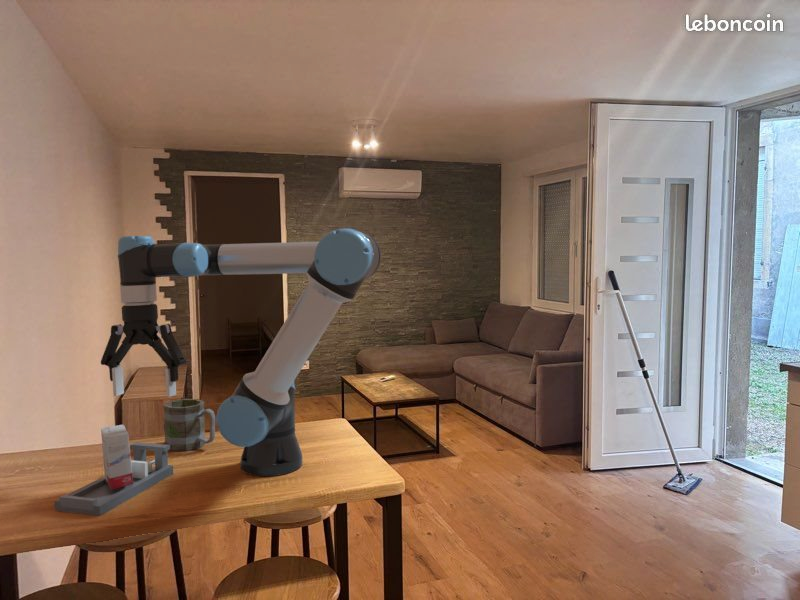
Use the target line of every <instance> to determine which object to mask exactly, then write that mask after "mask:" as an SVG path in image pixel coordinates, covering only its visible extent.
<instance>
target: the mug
mask: <svg viewBox="0 0 800 600" xmlns="http://www.w3.org/2000/svg"><path fill="white" fill-rule="evenodd" d="M162 405H163V407H162V408H163V413H164V415H163V416H164V417H163V419H164V420H163V432H164V445H170V449H169V450H167V452H171V453H172V452H173V453H186V452H190V451H195V450H199V449H201V448H203V447H204V446H205V445H206V444H211V443H212V442H213V441H214V439H215V437H216V436H215V435H216V416H215V415H216V414H215V412H214V410H212V409H211V408H207V409H205V405H206V403H205V400H202V399H198V398H181V399H175V400H170V401H168V402H166V403H164V404H162ZM207 413H208V414H209V417H210V418H209V419H210V422H209V438H206V437H205V435H206V434H205V428H206V427H205V426H206V418H205V415H206V414H207Z"/></svg>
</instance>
